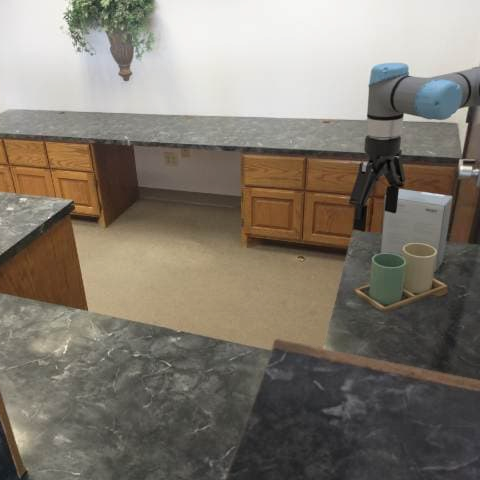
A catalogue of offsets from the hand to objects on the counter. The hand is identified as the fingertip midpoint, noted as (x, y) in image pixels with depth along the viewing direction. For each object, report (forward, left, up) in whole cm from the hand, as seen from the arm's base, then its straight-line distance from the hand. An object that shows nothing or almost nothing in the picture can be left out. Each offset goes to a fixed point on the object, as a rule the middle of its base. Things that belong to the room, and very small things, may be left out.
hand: (375, 220), depth 124 cm
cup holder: (-5, -5, -21) cm, 22 cm away
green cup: (-5, -1, -21) cm, 22 cm away
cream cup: (-5, -10, -21) cm, 24 cm away
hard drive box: (+7, -21, -21) cm, 31 cm away
